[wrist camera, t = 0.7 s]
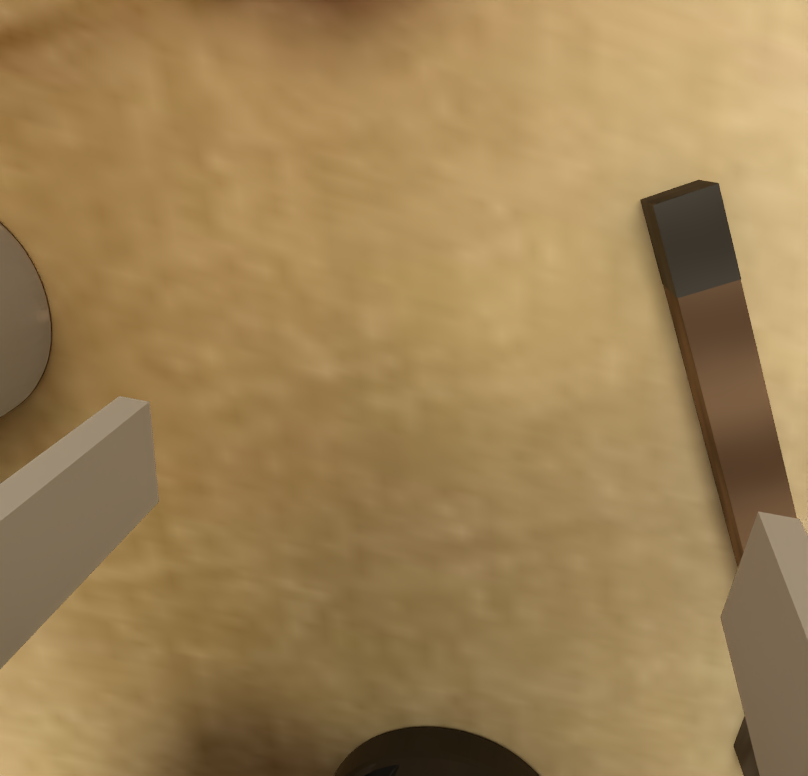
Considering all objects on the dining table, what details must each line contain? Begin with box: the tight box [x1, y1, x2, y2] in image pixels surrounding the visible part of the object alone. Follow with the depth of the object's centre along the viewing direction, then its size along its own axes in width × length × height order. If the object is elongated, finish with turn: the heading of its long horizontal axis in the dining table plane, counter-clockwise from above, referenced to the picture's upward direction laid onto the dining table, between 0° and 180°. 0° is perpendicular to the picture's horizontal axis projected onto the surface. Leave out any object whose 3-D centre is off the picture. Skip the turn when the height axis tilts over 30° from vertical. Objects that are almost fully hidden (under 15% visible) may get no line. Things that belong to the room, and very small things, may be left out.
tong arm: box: [641, 180, 797, 567], centre depth 33 cm, size 24×2×4 cm, turn 20°
